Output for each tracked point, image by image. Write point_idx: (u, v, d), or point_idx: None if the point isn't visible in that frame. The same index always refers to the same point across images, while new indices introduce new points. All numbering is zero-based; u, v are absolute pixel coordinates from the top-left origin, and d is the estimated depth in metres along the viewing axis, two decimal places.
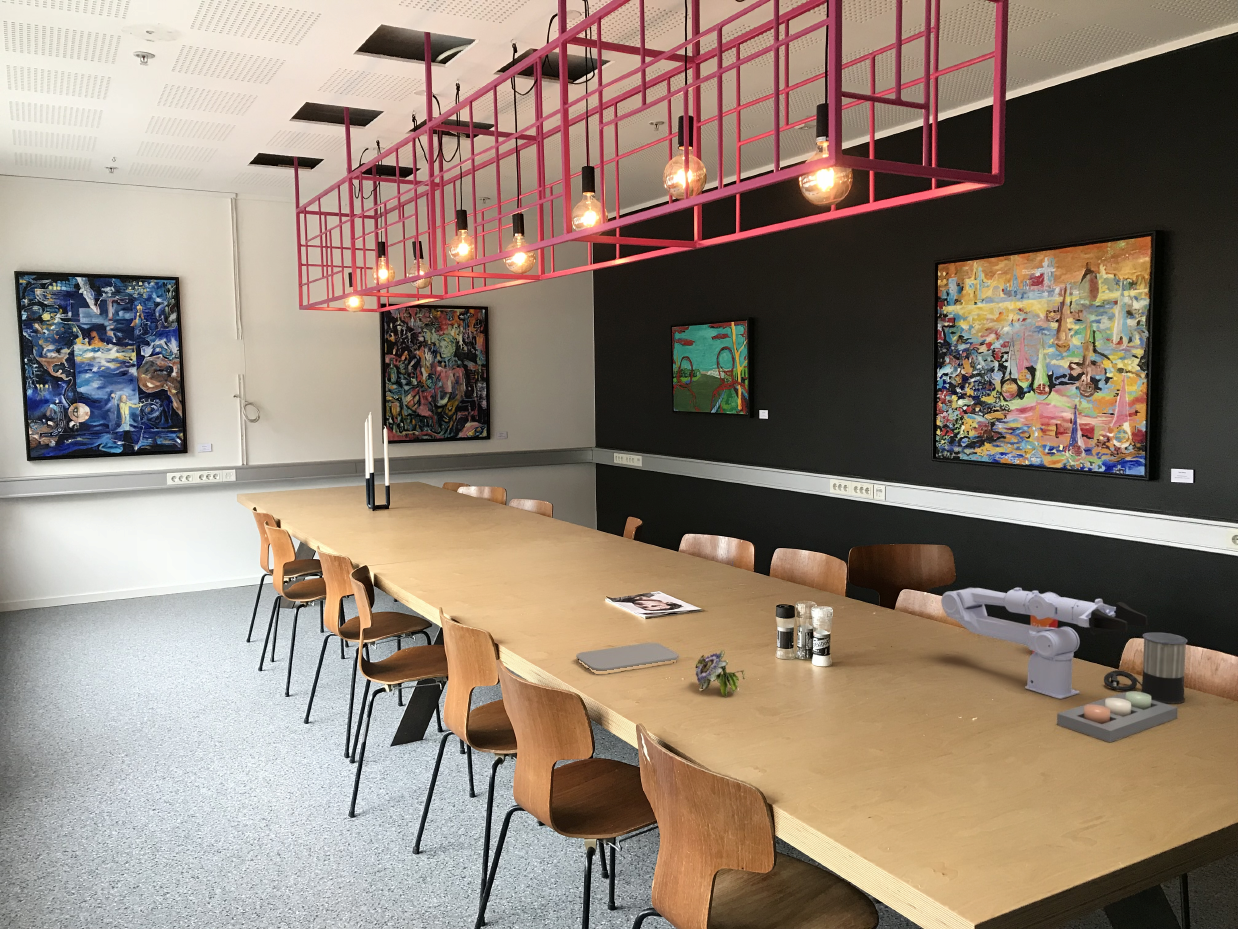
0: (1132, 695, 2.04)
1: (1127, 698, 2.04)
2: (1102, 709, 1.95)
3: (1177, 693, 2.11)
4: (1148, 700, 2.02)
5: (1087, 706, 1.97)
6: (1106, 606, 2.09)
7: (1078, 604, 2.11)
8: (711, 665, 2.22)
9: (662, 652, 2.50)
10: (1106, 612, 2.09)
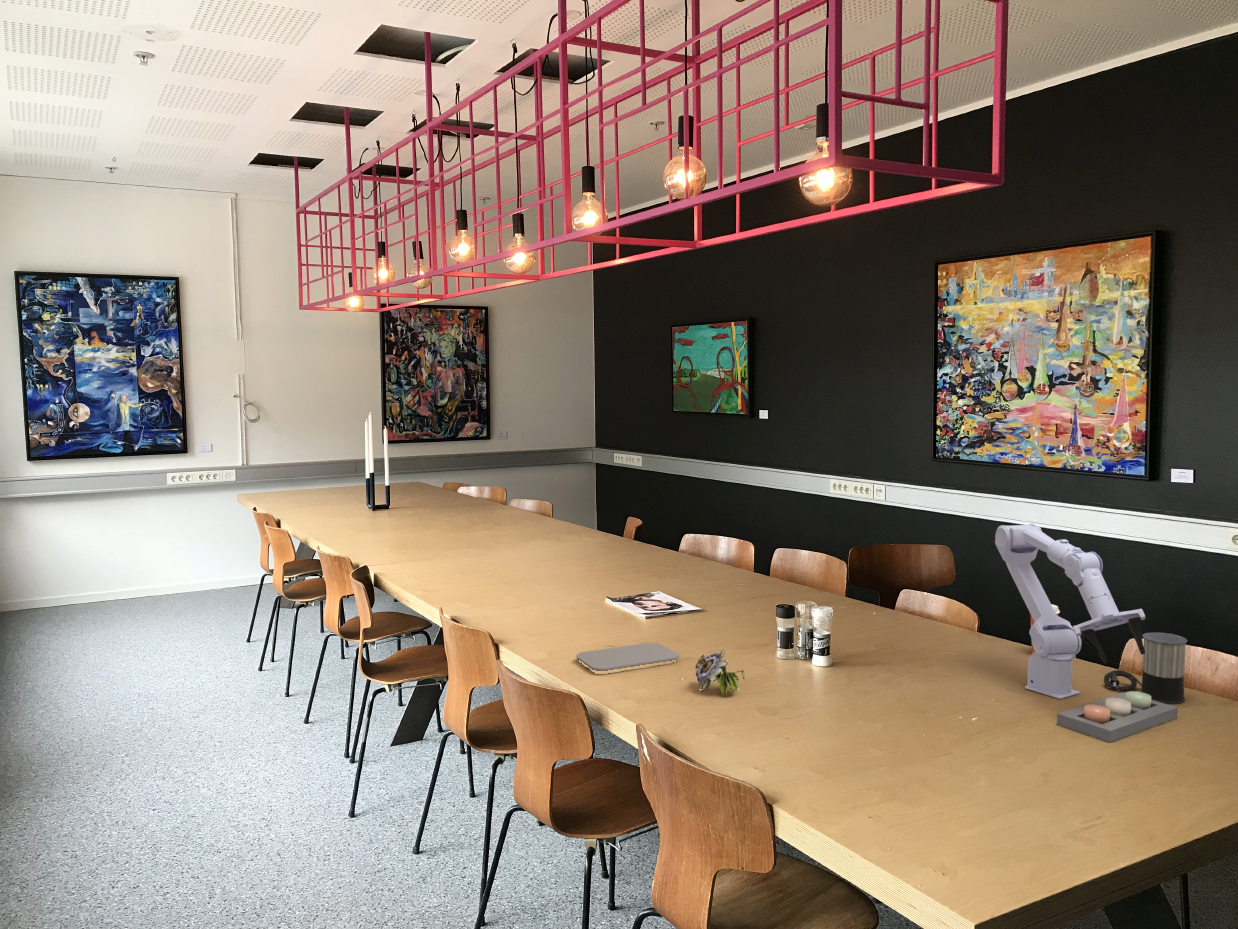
0: (1132, 695, 2.04)
1: (1127, 698, 2.04)
2: (1102, 709, 1.95)
3: (1177, 693, 2.11)
4: (1148, 700, 2.02)
5: (1087, 706, 1.97)
6: (1118, 616, 1.98)
7: (1092, 602, 2.02)
8: (711, 665, 2.22)
9: (662, 652, 2.50)
10: (1117, 619, 1.99)
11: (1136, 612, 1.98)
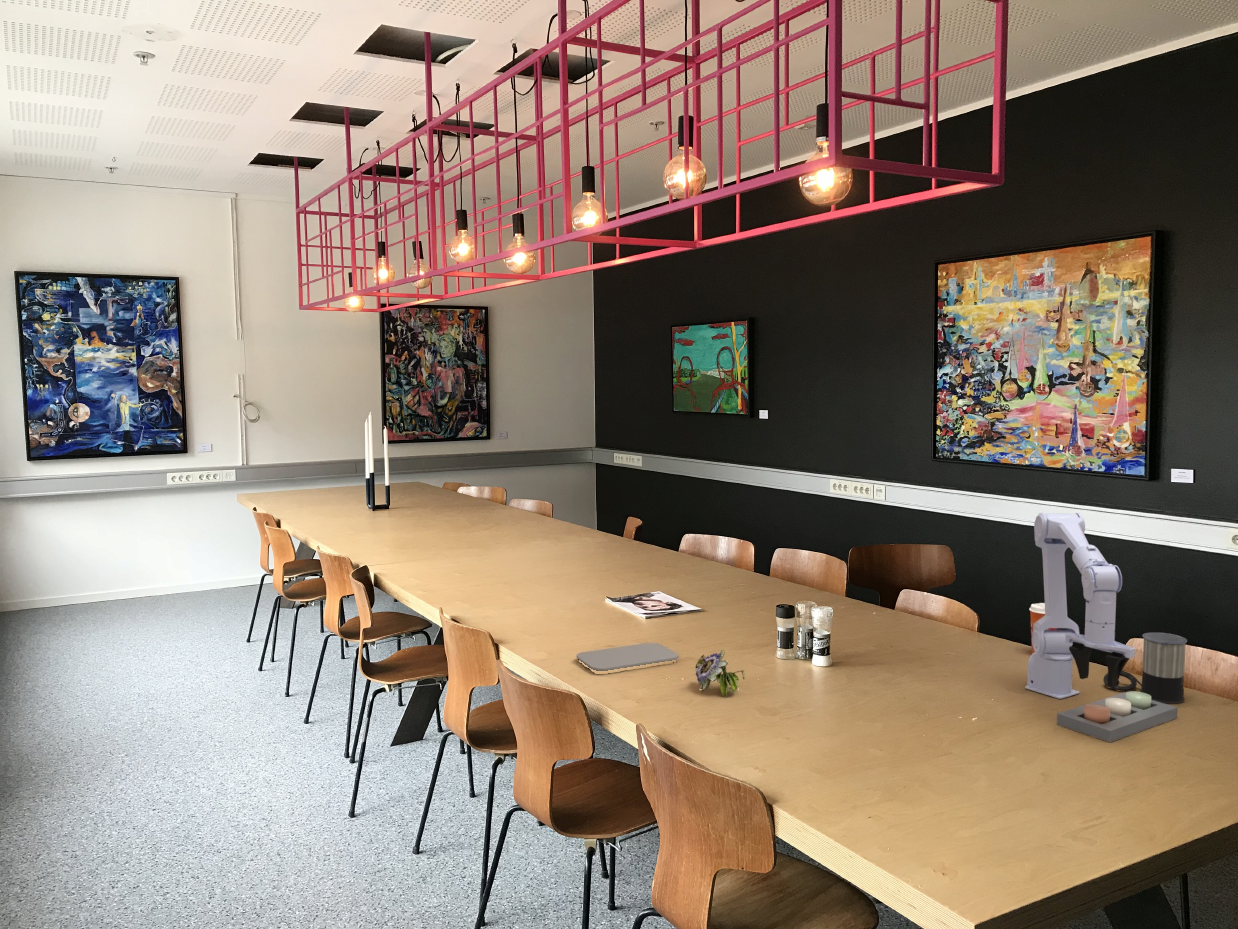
0: (1132, 695, 2.04)
1: (1127, 698, 2.04)
2: (1102, 709, 1.95)
3: (1177, 693, 2.11)
4: (1148, 700, 2.02)
5: (1087, 706, 1.97)
6: None
7: (1086, 624, 1.94)
8: (711, 665, 2.22)
9: (662, 652, 2.50)
10: None
11: (1123, 651, 1.89)
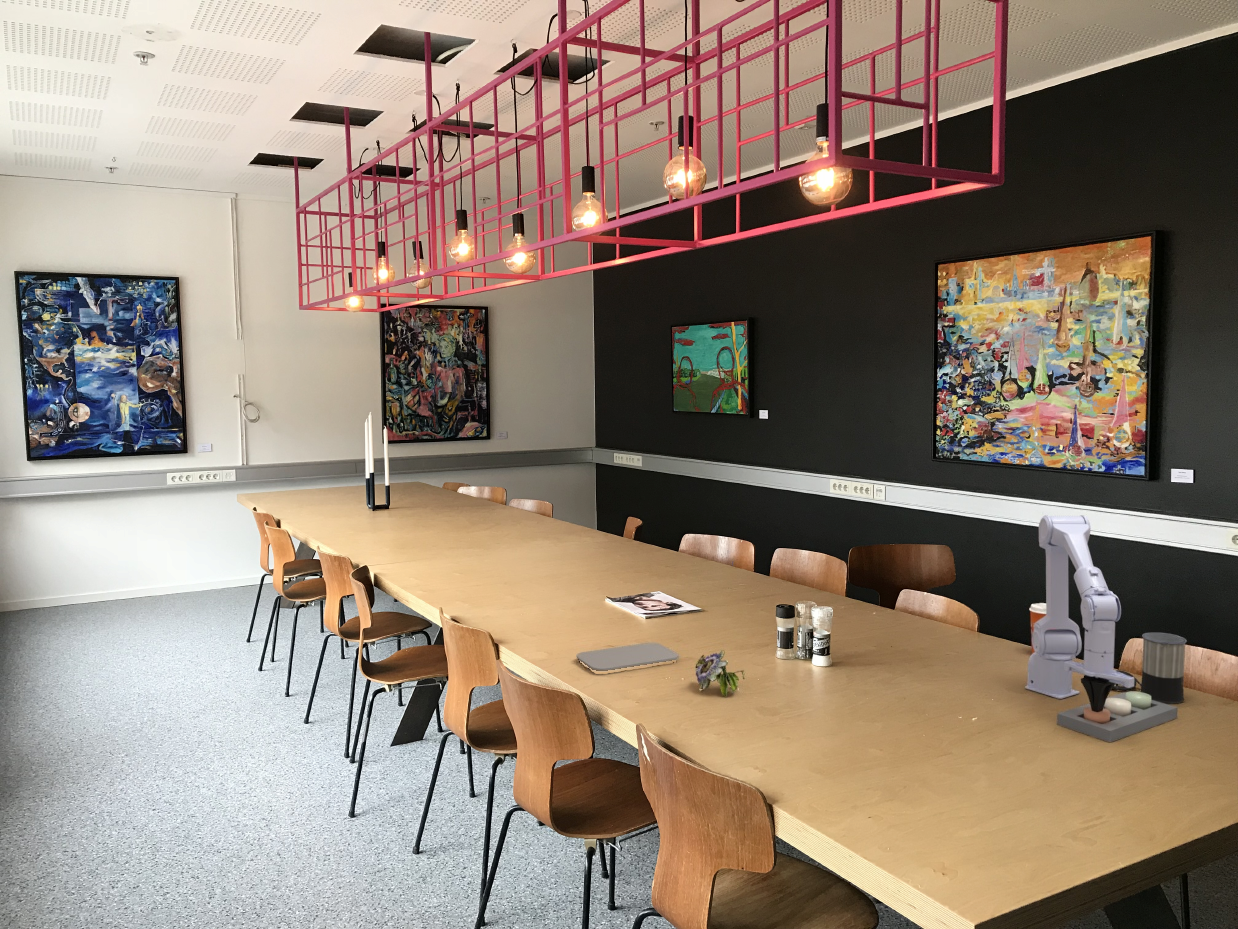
0: (1132, 695, 2.04)
1: (1127, 698, 2.04)
2: (1102, 711, 1.95)
3: (1176, 693, 2.11)
4: (1148, 700, 2.02)
5: (1087, 708, 1.97)
6: None
7: (1085, 653, 1.95)
8: (711, 665, 2.22)
9: (662, 652, 2.50)
10: None
11: (1122, 680, 1.89)
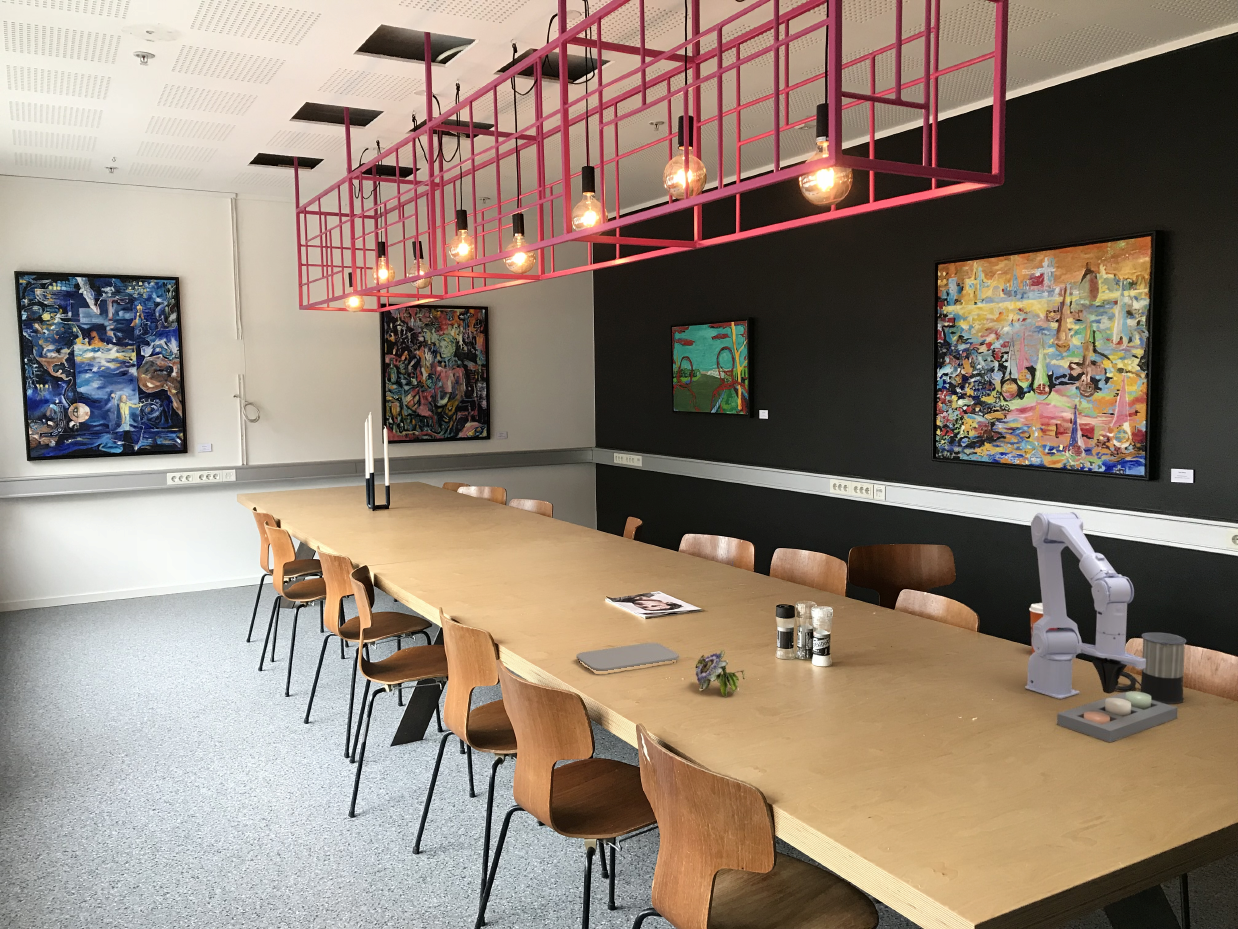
0: (1132, 695, 2.04)
1: (1127, 698, 2.04)
2: (1102, 716, 1.95)
3: (1176, 693, 2.11)
4: (1148, 700, 2.02)
5: (1087, 713, 1.97)
6: None
7: (1097, 635, 1.97)
8: (711, 665, 2.22)
9: (662, 652, 2.50)
10: None
11: (1134, 661, 1.91)
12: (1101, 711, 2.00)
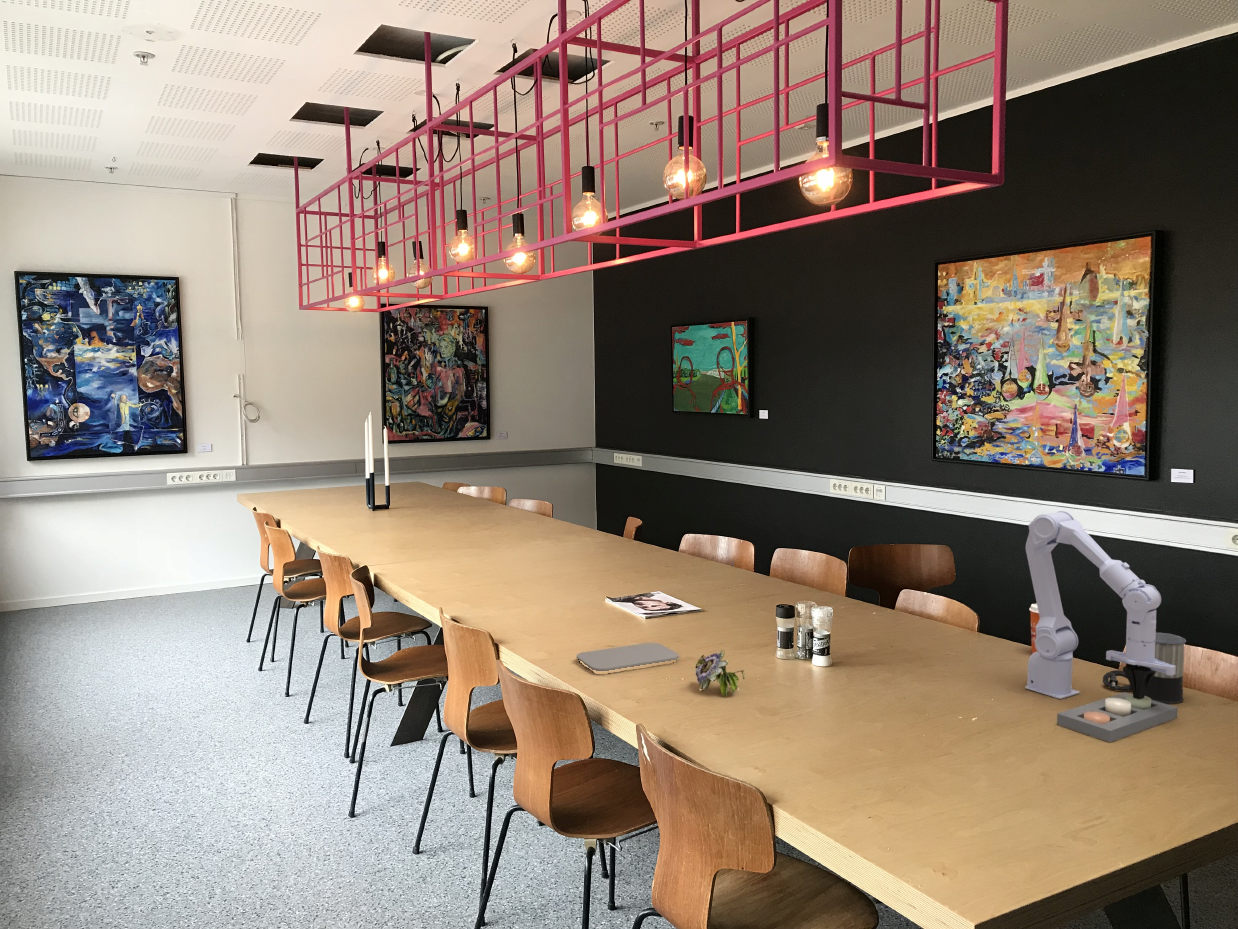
0: (1132, 698, 2.04)
1: None
2: (1102, 716, 1.95)
3: (1175, 693, 2.11)
4: (1148, 703, 2.02)
5: (1087, 713, 1.97)
6: None
7: (1127, 642, 2.03)
8: (711, 665, 2.22)
9: (662, 652, 2.50)
10: None
11: (1164, 668, 1.98)
12: (1101, 711, 2.00)
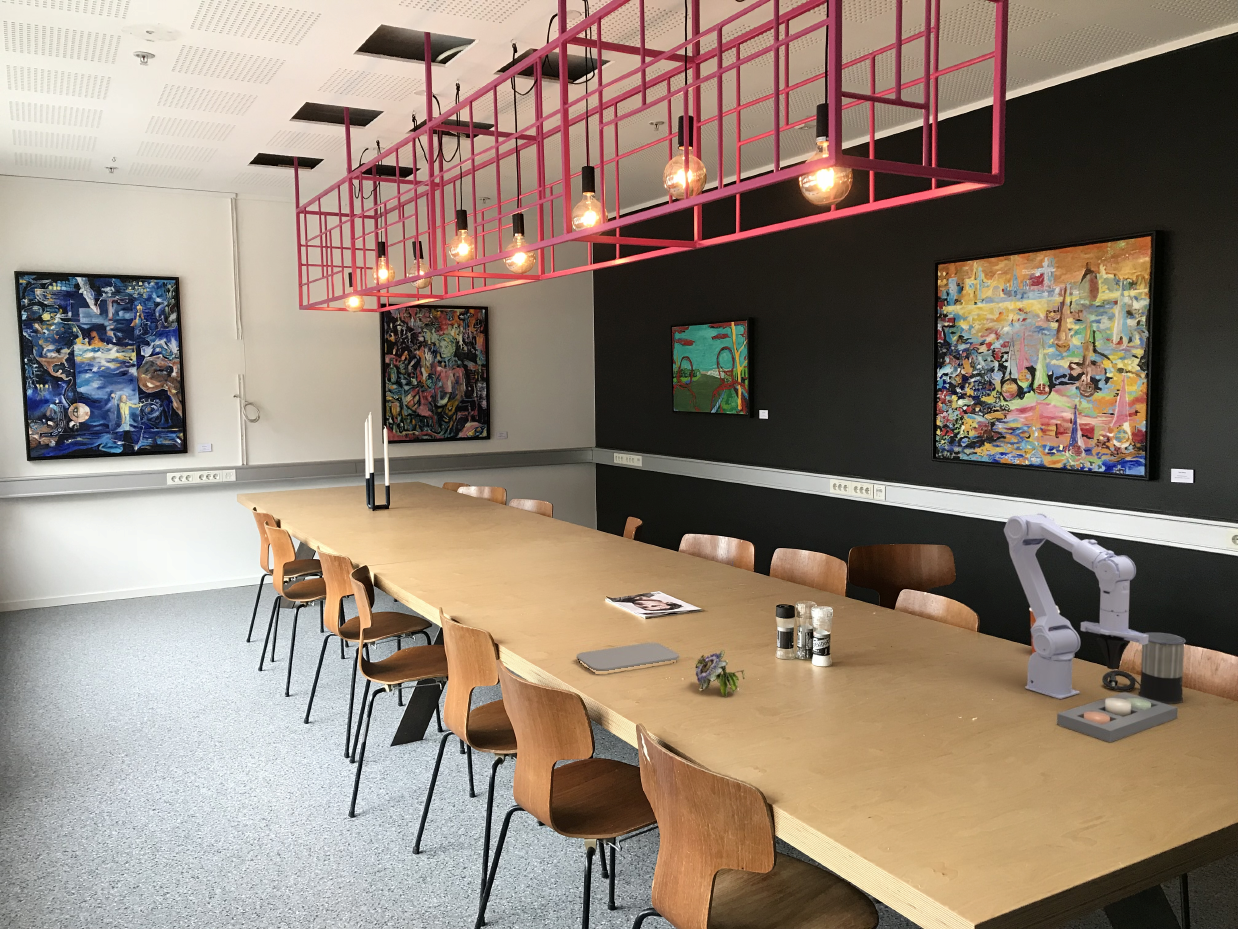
0: (1132, 702, 2.04)
1: None
2: (1102, 716, 1.95)
3: (1175, 693, 2.11)
4: (1147, 707, 2.02)
5: (1087, 713, 1.97)
6: None
7: (1101, 612, 2.04)
8: (711, 665, 2.22)
9: (662, 652, 2.50)
10: None
11: (1137, 637, 1.98)
12: (1101, 711, 2.00)
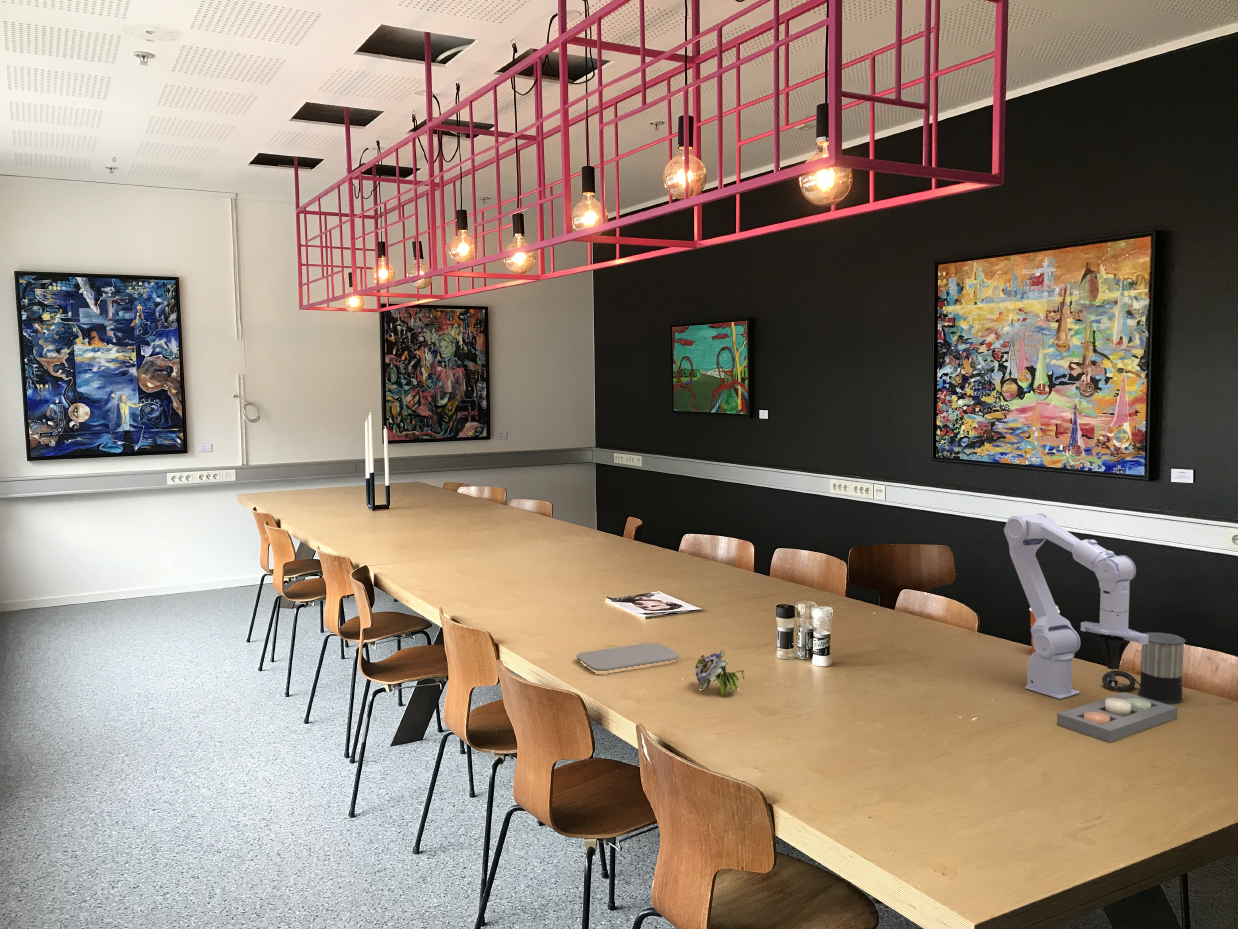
0: (1132, 702, 2.04)
1: None
2: (1102, 716, 1.95)
3: (1175, 693, 2.11)
4: (1147, 707, 2.02)
5: (1087, 713, 1.97)
6: None
7: (1101, 612, 2.04)
8: (711, 665, 2.22)
9: (662, 652, 2.50)
10: None
11: (1137, 637, 1.98)
12: (1101, 711, 2.00)
